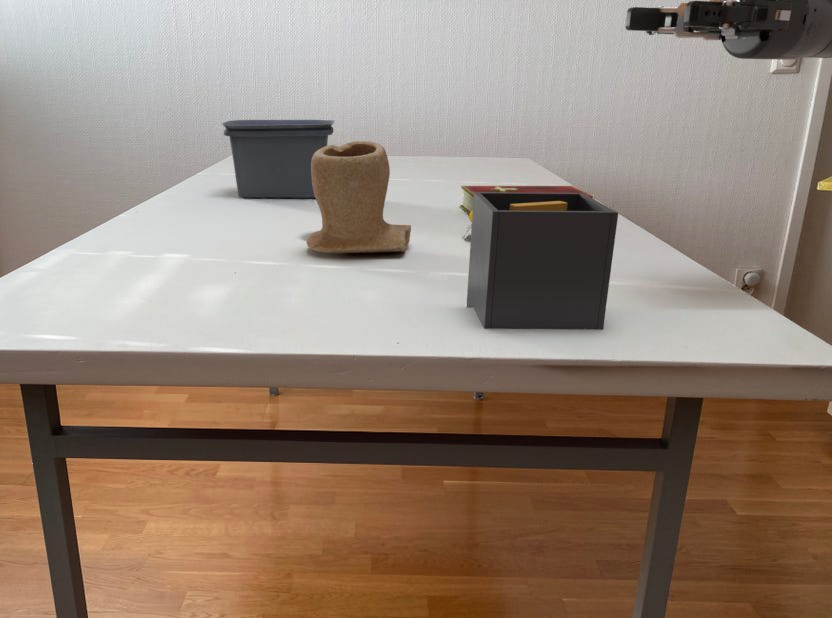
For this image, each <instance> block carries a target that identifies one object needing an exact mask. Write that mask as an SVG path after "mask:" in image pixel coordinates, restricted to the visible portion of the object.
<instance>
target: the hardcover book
mask: <svg viewBox="0 0 832 618" xmlns="http://www.w3.org/2000/svg"><path fill="white" fill-rule="evenodd" d="M460 188H461V189H462V190H463V191H462V192H463V193H462V204H459V208H460V209H461V210H463V212H465V213H466V215H468V216H469V214H470V212H471V211H472V210H473V199H474V192H519V193H583V194H585V195H587V196H589V197H591V198H593V199H594V200H596V196H595V195H594V194H592V193H591V192H588V191H585V190H583V189H581V188H579V187H576V186H574V185H461V186H460Z"/></svg>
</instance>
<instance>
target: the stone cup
mask: <svg viewBox="0 0 832 618" xmlns="http://www.w3.org/2000/svg"><path fill="white" fill-rule="evenodd" d="M390 170H391V169H390V163H389V158H388V155H387V151H386V149H385V147H384V146H383V145H381V144H380V143H378V142H375V141H369V140H368V141H367V140H365V141H364V140H354V141H353V140H352V141H349V142H347V143H345V144H342V145H336V144H335V145H334V144H327V146H325V147H323V148H321V149H319V150H318V151H316V152H315V153H314V155H313V157H312V160H311V175H312V186H313V191H314V195H315V200H316V204H317V206H318V208H319V211H320V212H319V213H320V215H321V225H322V226H321V229H320V230H317V231H315V232H313V233H311V234H310V235H309V236H307V238H306V243H305V244H306V245H307V247H308V248H309V249H311V250H312V251H315V252H319V253H326V254H367V253H368V254H369V253H372V254H373V253H375V254H376V253H392V252H393V253H394V252H395V253H396V252H405V251H406V250H407V247H408V246H409V244H410V241H411V231H412V225H410V224H393V223H392V224H391V223H388V222H386V221H385V220H384V208H385V203H386V197H387V193H388V187H389V181H390V175H391V174H390V173H391V171H390Z"/></svg>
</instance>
